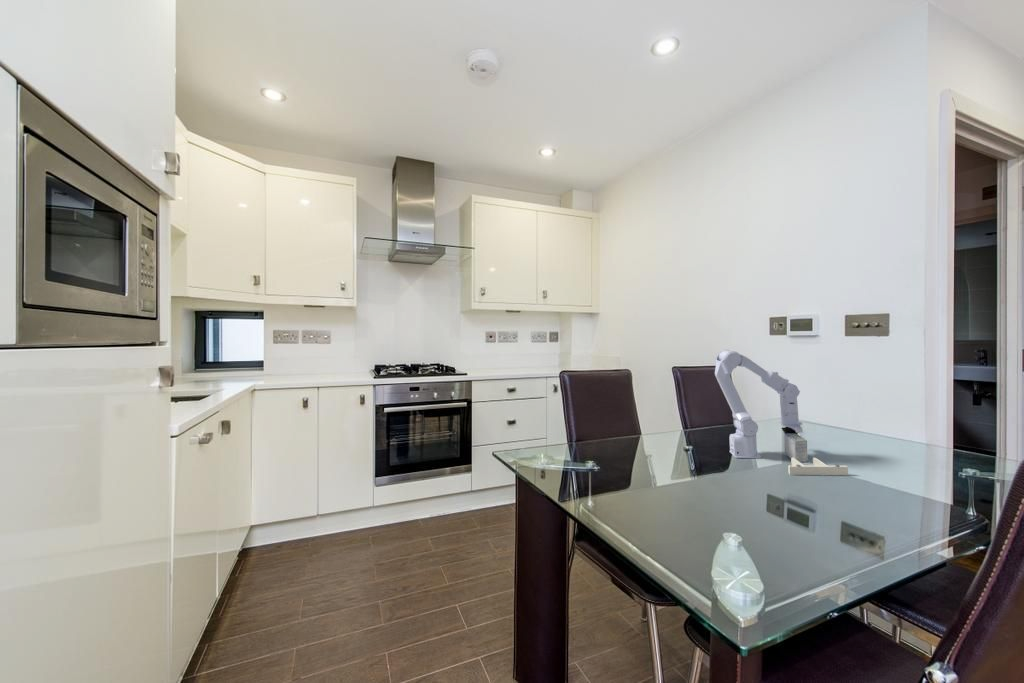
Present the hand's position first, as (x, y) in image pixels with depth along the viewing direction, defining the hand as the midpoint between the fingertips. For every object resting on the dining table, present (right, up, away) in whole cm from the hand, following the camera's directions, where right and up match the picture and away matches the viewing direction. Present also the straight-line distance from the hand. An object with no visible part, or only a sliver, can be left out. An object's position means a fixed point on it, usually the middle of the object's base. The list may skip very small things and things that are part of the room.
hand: (791, 445), depth 159 cm
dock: (-4, -5, -15) cm, 16 cm away
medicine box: (-1, -4, -4) cm, 6 cm away
